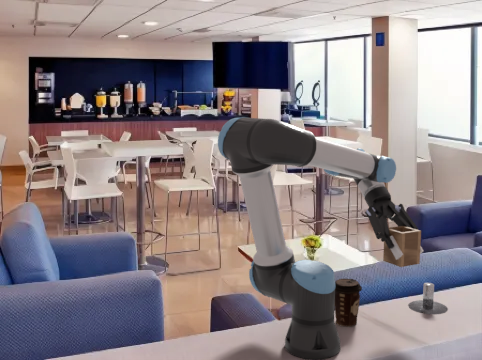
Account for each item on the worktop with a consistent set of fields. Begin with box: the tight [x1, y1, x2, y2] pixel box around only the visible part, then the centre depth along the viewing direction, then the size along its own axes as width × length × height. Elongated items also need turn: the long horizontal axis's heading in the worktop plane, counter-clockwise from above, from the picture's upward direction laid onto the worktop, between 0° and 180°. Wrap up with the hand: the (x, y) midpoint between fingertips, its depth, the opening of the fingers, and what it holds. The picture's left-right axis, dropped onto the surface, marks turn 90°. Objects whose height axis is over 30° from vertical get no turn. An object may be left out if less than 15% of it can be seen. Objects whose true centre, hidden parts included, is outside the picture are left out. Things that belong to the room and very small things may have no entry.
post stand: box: [407, 282, 449, 315], centre depth 189 cm, size 12×12×9 cm
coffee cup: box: [334, 278, 363, 327], centre depth 181 cm, size 9×8×13 cm
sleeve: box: [382, 225, 422, 268], centre depth 177 cm, size 7×7×10 cm
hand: (410, 255), depth 174 cm, fingers closed on sleeve, 7 cm apart
